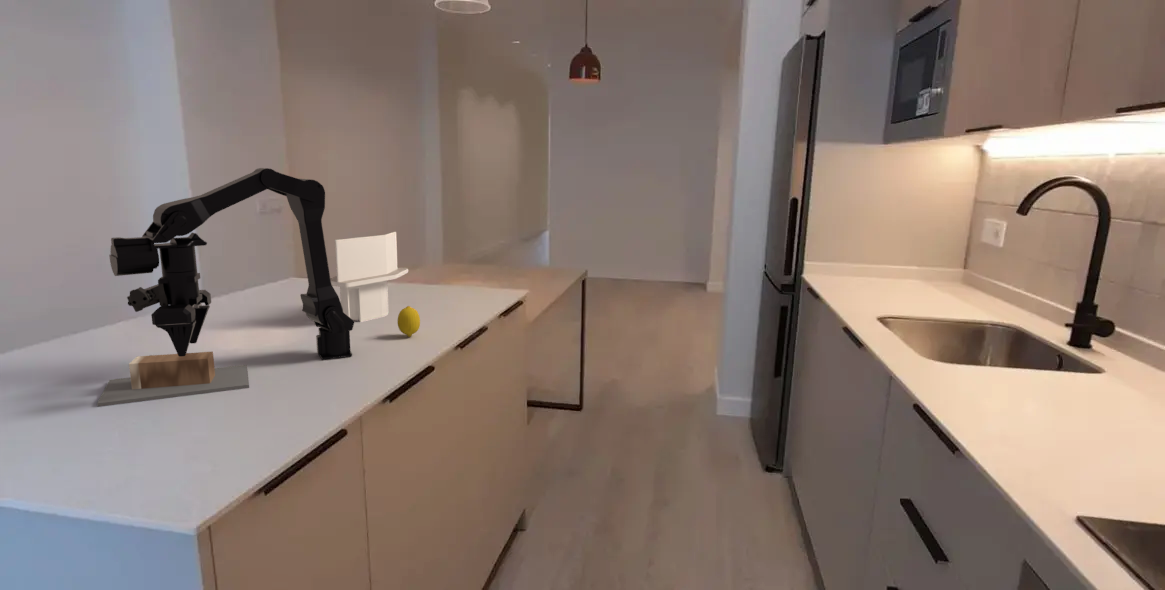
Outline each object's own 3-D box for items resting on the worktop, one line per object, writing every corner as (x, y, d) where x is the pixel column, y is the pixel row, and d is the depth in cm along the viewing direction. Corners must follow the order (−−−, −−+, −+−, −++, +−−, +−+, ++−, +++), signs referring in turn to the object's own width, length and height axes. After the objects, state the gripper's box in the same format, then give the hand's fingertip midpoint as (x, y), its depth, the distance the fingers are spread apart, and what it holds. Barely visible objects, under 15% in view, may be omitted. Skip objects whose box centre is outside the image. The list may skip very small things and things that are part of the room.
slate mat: (247, 367, 138) (247, 364, 138) (249, 387, 126) (248, 384, 126) (109, 382, 127) (109, 379, 127) (97, 406, 115) (97, 403, 115)
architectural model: (351, 304, 200) (348, 228, 195) (419, 307, 199) (417, 231, 194) (308, 327, 173) (303, 239, 168) (386, 330, 172) (383, 242, 167)
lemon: (393, 338, 163) (392, 307, 162) (407, 332, 168) (406, 302, 167) (411, 340, 161) (410, 309, 160) (424, 335, 166) (424, 305, 165)
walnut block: (212, 351, 130) (137, 356, 126) (207, 358, 125) (128, 364, 121) (215, 375, 131) (140, 381, 127) (210, 383, 126) (132, 389, 122)
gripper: (144, 264, 129) (153, 339, 132) (112, 280, 112) (123, 367, 115) (208, 262, 133) (215, 336, 136) (186, 278, 115) (195, 362, 119)
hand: (187, 349), depth 126 cm, fingers open, 9 cm apart
